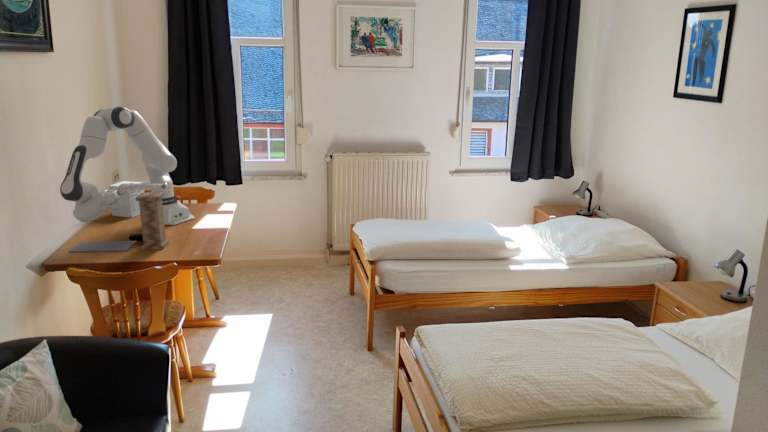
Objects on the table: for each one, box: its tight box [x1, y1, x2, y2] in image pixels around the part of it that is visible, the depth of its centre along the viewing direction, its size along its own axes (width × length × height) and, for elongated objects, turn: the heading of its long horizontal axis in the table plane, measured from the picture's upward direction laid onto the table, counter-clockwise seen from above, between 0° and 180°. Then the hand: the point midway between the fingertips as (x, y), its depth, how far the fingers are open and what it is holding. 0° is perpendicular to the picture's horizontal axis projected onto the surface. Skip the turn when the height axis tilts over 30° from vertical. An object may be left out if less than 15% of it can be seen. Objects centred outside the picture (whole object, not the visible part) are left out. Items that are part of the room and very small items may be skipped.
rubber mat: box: [68, 240, 138, 253], centre depth 290 cm, size 26×14×1 cm, turn 93°
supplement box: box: [108, 180, 145, 218], centre depth 344 cm, size 13×13×18 cm
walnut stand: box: [136, 192, 170, 251], centre depth 288 cm, size 10×10×25 cm
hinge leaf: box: [119, 182, 169, 190], centre depth 283 cm, size 21×4×2 cm, turn 93°
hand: (130, 185), depth 283 cm, fingers closed on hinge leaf, 4 cm apart
